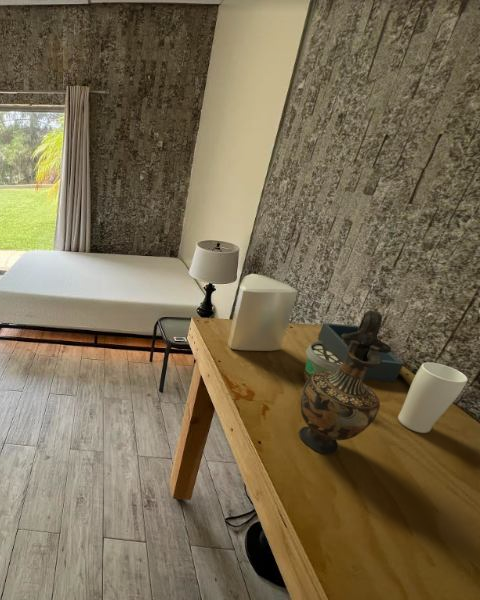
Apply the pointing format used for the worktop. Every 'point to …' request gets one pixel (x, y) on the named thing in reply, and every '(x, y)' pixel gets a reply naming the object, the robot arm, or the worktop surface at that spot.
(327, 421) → the vase
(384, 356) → the blue open box
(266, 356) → the worktop surface
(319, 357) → the food container
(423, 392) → the white cup
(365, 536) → the worktop surface
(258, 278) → the white rounded triangular prism
